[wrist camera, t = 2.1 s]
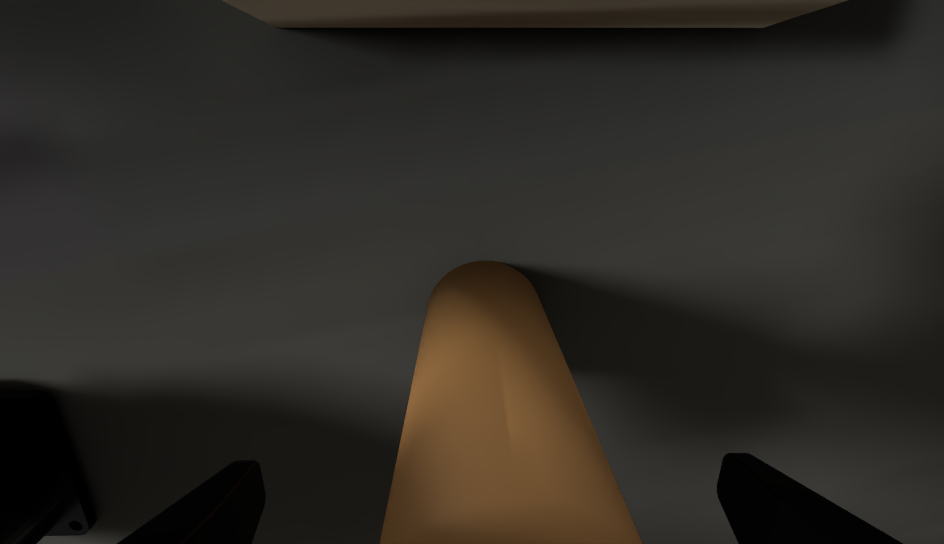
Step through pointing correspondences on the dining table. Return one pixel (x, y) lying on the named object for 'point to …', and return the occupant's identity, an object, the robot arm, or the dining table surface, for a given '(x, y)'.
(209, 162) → the dining table surface
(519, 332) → the peg
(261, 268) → the dining table surface
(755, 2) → the socket block
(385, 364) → the dining table surface
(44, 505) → the robot arm
